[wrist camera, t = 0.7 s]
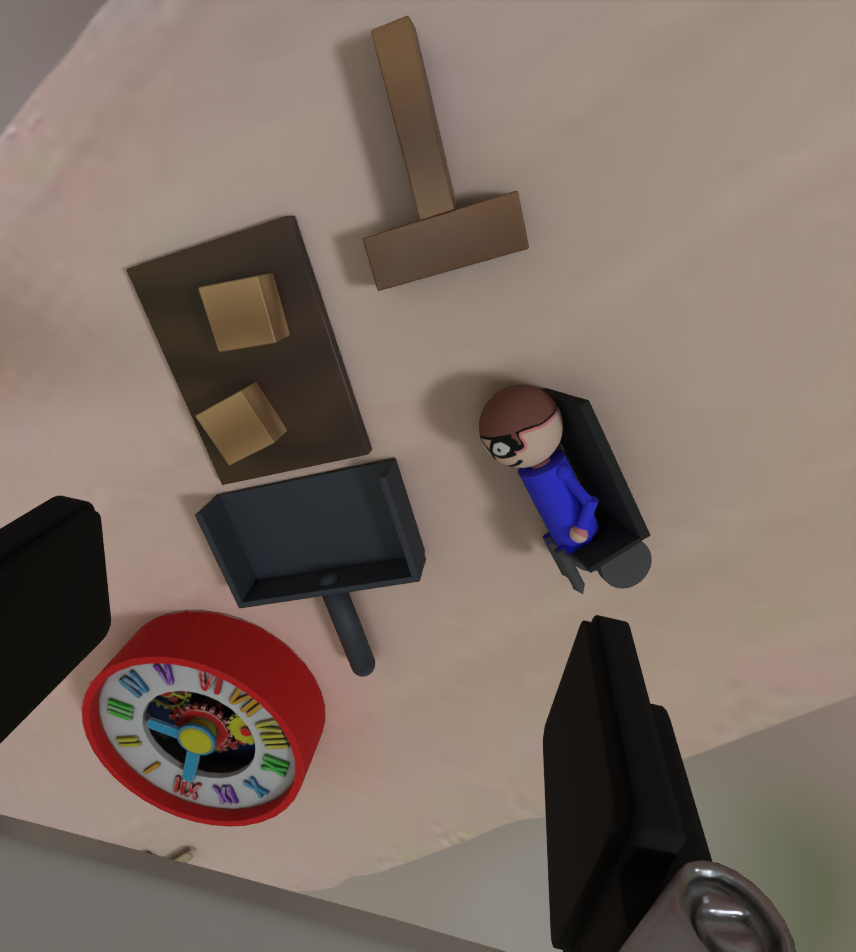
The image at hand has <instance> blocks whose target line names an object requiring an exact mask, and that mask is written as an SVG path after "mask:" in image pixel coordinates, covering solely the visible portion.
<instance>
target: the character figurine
mask: <svg viewBox="0 0 856 952" xmlns="http://www.w3.org/2000/svg"><path fill="white" fill-rule="evenodd" d="M479 432H480V438H481V441H482V443H483V445H484V447H485V449H486V450H487V452H488V453H489V454H490V455H491V456H492V457H493V458H494V459H495V460H497V461H498V462H500V463H502V464H504V465H507V466H510V467H515V468H519V470H518V473H519V475H520V477H521V479H522V481H523V483H524V485H525V487H526V489H527V491H528V493H529V494H530V496H531V498H532V500H533V502H534V504H535V506H536V508H537V510H538V512H539V514H540V516H541V517H542V519H543V521H544V523H545V525H546V527H547V529H548V531H549V532H548V533H546V534H545V535H544V536H543V539H544V541H545V543H546V545H547V547H548V549H549V551H550V553H551V555H552V556H553V558H554V560H555V562H556V564H557V566H558V568H559V570H560V572H561V574H562V575H564V576H566V577H568V579H569V581H570V582H571V584H572V586H573V589H574V590H576V591H578V592H580V593H582V594H583V591H584V585H585V583H584V582H583V580H582V578H581V576H580V574H579V572H578V570H577V568H576V566H577V567H578V568H580V569H582V570H585V571H589V572H590V573H591V572H593V571H598V573H599V575H600V576H601V577H602V578H603V579H604V580H605V581H606V582H607V583H608V584H610V585H611V586H613V587H616V588H629V587H632V586H634V585H636V584H638V583H639V582H640V581H642V580H643V579H644V578H645V576H646V575H647V573H648V571H649V569H650V566H651V553H650V550H649V548H648V547H647V545H646V544H645V543H643V542H642V540H644V539H645V538H647V537H649V536H650V533H649V531H648V529H647V527H646V525H645V522H644V520H643V518H642V516H641V514H640V511H639V509H638V507H637V505H636V503H635V500H634V498H633V496H632V494H631V492H630V489H629V487H628V485H627V483H626V481H625V478H624V476H623V474H622V472H621V470H620V468H619V465H618V463H617V461H616V459H615V457H614V454H613V452H612V450H611V448H610V446H609V443H608V441H607V439H606V437H605V435H604V432H603V430H602V428H601V426H600V424H599V421H598V419H597V417H596V415H595V413H594V410H593V408H592V406H591V404H590V402H589V400H585V399H582V398H578V397H575V396H572V395H568V394H565V393H561V392H558V391H554V390H551V389H547V388H544V389H542V390H540V389H538V388H535V387H532V386H527V385H516V386H511V387H507V388H505V389H503V390H501V391H499V392H498V393H496V394H495V395H494V396H493V397H492V398H491V399H490V400H489V401H488V402H487V403H486V405H485V407H484V409H483V411H482V413H481V416H480V421H479ZM560 440H561V442H562V444H563V447H564V449H565V451H566V453H567V455H568V457H569V459H570V461H571V463H572V465H573V467H574V469H575V471H576V473H577V475H578V477H579V480H580V482H581V484H582V485H581V484H580V483H579V482H578V480H577V478H576V476H575V474H574V472H573V470H572V468H571V466H570V464H569V462H568V460H567V458H566V455H565V453H564V452H563V451H562V450H559V449H556V448H557V446H558V445H559V443H560ZM582 486H583V487H582ZM575 565H576V566H575Z"/></svg>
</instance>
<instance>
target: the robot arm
mask: <svg viewBox="0 0 856 952" xmlns="http://www.w3.org/2000/svg"><path fill="white" fill-rule="evenodd" d="M110 625H111V614H110V604H109V594H108V584H107V574H106V564H105V553H104V543H103V533H102V523H101V517H100V514H99V513H98V512H96V511H95V509H94V507H93V505H92V504H91V503H89V502H87V501H83V500H79V499H74V498H70V497H65V496H55V497H53V498H51V499H49V500H48V501H46V502H44V503H43V504H41V505H39V506H37V507H36V508H34V509H32V510H31V511H29V512H27V513H26V514H24V515H22V516H21V517H19V518H17V519H16V520H14V521H12V522H11V523H9V524H7V525H6V526H4V527H2V528H1V529H0V743H1V742H2V741H3V740H4V739H5V738H6V737H7V736H8V735H9V734H10V733H11V732H12V731H13V730H14V729H15V728H16V727H17V726H18V725H19V724H20V723H21V722H22V721H23V720H24V719H25V718H26V717H27V716H28V715H29V714H30V713H31V712H32V711H33V710H34V709H35V708H36V707H37V706H38V705H39V704H40V703H41V702H42V701H43V700H44V699H45V698H46V697H47V696H48V695H49V694H50V693H51V692H52V691H53V690H54V689H55V688H56V687H57V686H58V685H59V684H60V683H61V682H62V681H63V680H64V679H65V678H66V677H67V676H68V675H69V673H70V672H71V671H72V670H73V669H74V668H75V667H76V666H77V665H78V664H79V663H80V662H81V661H82V660H83V659H84V658H85V657H86V656H87V655H88V654H89V653H90V652H91V651H92V650H93V649H94V648H95V647H96V646H97V645H98V644H99V643H100V642H101V641H102V640H103V639H104V638H105V636H106V635H107V633H108V631H109V628H110ZM543 759H544V783H545V808H546V829H547V830H546V831H547V856H548V880H549V904H550V925H551V926H550V927H551V941H552V945H553V947H554V948H557V949H561V950H563V952H796V949H795V944H794V940H793V938H792V936H791V933H790V931H789V929H788V927H787V925H786V922H785V920H784V919H783V917H782V916H781V914H780V913H779V912H778V910H777V909H776V907H775V906H774V905H773V903H772V902H771V900H770V899H769V898H768V897H767V896H766V895H765V894H764V893H763V892H762V891H761V890H760V889H759V888H758V887H757V886H756V885H755V884H754V883H752V882H751V881H750V880H748V879H747V878H745V877H744V876H742V875H741V874H740V873H738V872H737V871H735V870H733V869H731V868H728V867H726V866H724V865H722V864H720V863H716V862H712V859H711V855H710V852H709V849H708V845H707V842H706V838H705V835H704V832H703V829H702V825H701V822H700V819H699V815H698V812H697V808H696V805H695V801H694V798H693V795H692V791H691V788H690V785H689V781H688V778H687V774H686V771H685V768H684V765H683V761H682V758H681V754H680V751H679V748H678V744H677V741H676V737H675V734H674V731H673V727H672V724H671V721H670V718H669V715H668V713H667V711H666V710H665V708H664V707H663V706H659V705H655V704H650V701H649V697H648V693H647V690H646V686H645V682H644V678H643V675H642V671H641V667H640V663H639V659H638V656H637V652H636V648H635V644H634V641H633V637H632V633H631V629H630V626H629V624H628V623H627V622H625V621H621V620H617V619H612V618H608V617H603V616H599V615H596V616H594V618H593V619H592V622H589V621H582V623H581V625H580V627H579V630H578V633H577V636H576V638H575V641H574V644H573V647H572V650H571V653H570V656H569V658H568V661H567V664H566V667H565V670H564V673H563V675H562V678H561V681H560V684H559V687H558V690H557V693H556V695H555V698H554V701H553V704H552V707H551V710H550V712H549V715H548V718H547V721H546V724H545V729H544V735H543ZM0 952H505V951H502V950H499V949H496V948H492V947H488V946H485V945H482V944H478V943H474V942H471V941H468V940H464V939H461V938H458V937H454V936H451V935H447V934H444V933H440V932H437V931H433V930H430V929H427V928H423V927H420V926H416V925H412V924H409V923H406V922H403V921H399V920H396V919H392V918H388V917H385V916H381V915H377V914H374V913H370V912H366V911H363V910H359V909H355V908H351V907H348V906H344V905H340V904H337V903H333V902H329V901H326V900H322V899H318V898H315V897H311V896H307V895H303V894H300V893H296V892H292V891H289V890H285V889H281V888H277V887H274V886H270V885H266V884H263V883H259V882H255V881H252V880H248V879H244V878H240V877H237V876H233V875H229V874H226V873H222V872H218V871H214V870H210V869H207V868H203V867H199V866H195V865H192V864H188V863H184V862H180V861H176V860H173V859H169V858H165V857H161V856H158V855H154V854H150V853H146V852H142V851H139V850H135V849H131V848H127V847H123V846H120V845H116V844H112V843H108V842H104V841H101V840H97V839H93V838H89V837H85V836H82V835H78V834H74V833H70V832H66V831H63V830H59V829H55V828H51V827H47V826H43V825H40V824H36V823H32V822H28V821H24V820H20V819H16V818H12V817H9V816H5V815H1V814H0Z"/></svg>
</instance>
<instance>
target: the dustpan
mask: <svg viewBox="0 0 856 952" xmlns="http://www.w3.org/2000/svg"><path fill="white" fill-rule="evenodd" d="M195 516H196V519H197V521H198V523H199V525H200V527H201V529H202V531H203V533H204V535H205V537H206V540H207V542H208V544H209V546H210V548H211V550H212V552H213V554H214V556H215V558H216V561H217V563H218V565H219V567H220V569H221V571H222V573H223V575H224V577H225V580H226V582H227V584H228V586H229V588H230V590H231V592H232V594H233V596H234V598H235V601H236V603H237V605H238V607H239V608H245V607H252V606H259V605H265V604H272V603H279V602H285V601H292V600H299V599H305V598H312V597H319V596H322V597H323V599H324V602H325V604H326V607H327V609H328V612H329V614H330V617H331V619H332V621H333V624H334V626H335V629H336V631H337V634H338V636H339V639H340V641H341V644H342V646H343V649H344V651H345V653H346V656H347V658H348V661H349V663H350V666H351V668H352V670H353V672H354V673H355V674H356V675H358V676H362V677H364V676H367V675H369V674H371V673H372V672H373V670H374V668H375V659H374V657H373V654H372V651H371V649H370V646H369V644H368V641H367V638H366V636H365V633H364V631H363V628H362V625H361V623H360V620H359V618H358V615H357V612H356V610H355V607H354V605H353V602H352V599H351V597H350V594H349V592H352V591H359V590H366V589H372V588H379V587H386V586H392V585H399V584H406V583H412V582H419V581H420V579H421V575H422V571H423V568H424V564H425V561H426V558H425V555H424V553H425V550H424V546H423V543H422V540H421V537H420V534H419V531H418V527H417V524H416V521H415V518H414V515H413V512H412V508H411V505H410V502H409V499H408V496H407V493H406V490H405V486H404V483H403V480H402V477H401V474H400V471H399V467H398V464H397V461H396V458H393V459H388V460H383V461H378V462H373V463H369V464H364V465H359V466H354V467H349V468H344V469H339V470H335V471H330V472H325V473H320V474H315V475H310V476H306V477H301V478H296V479H291V480H286V481H281V482H276V483H272V484H267V485H262V486H257V487H252V488H247V489H242V490H238V491H233V492H228V493H223V494H218V495H216V496H215V497H214V498H213V499H212V500H211V501H210V502H208V503H207V504H206V505H205V506H204V507H203V508H202V509H201V510H200V511H199V512H198V513H196V514H195ZM400 557H404V558H400ZM394 558H398V559H394ZM388 559H391V560H388ZM382 560H385V561H382ZM376 561H379V562H376ZM369 562H373V563H369ZM363 563H367V564H363ZM357 564H360V565H357ZM351 565H354V566H351ZM345 566H348V567H345ZM338 567H342V568H338ZM332 568H336V569H332ZM326 569H329V570H326ZM320 570H323V571H320ZM314 571H317V572H314ZM307 572H311V573H307ZM301 573H305V574H301ZM295 574H298V575H295ZM289 575H292V576H289ZM283 576H286V577H283ZM276 577H280V578H276ZM270 578H274V579H270ZM264 579H267V580H264ZM258 580H261V581H258Z"/></svg>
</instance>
